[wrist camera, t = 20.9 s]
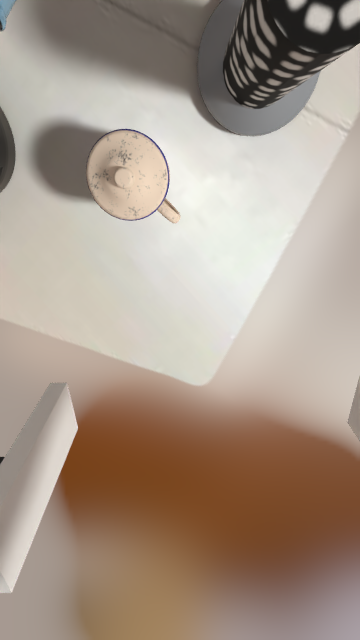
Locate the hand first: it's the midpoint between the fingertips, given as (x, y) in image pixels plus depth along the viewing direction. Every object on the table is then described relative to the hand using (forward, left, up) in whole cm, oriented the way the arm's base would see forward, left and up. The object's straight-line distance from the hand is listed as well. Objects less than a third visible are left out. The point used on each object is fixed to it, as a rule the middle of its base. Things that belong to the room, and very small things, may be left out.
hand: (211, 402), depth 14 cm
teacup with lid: (-6, +8, -35) cm, 36 cm away
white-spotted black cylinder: (+8, +20, -33) cm, 40 cm away
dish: (+8, +20, -35) cm, 41 cm away
